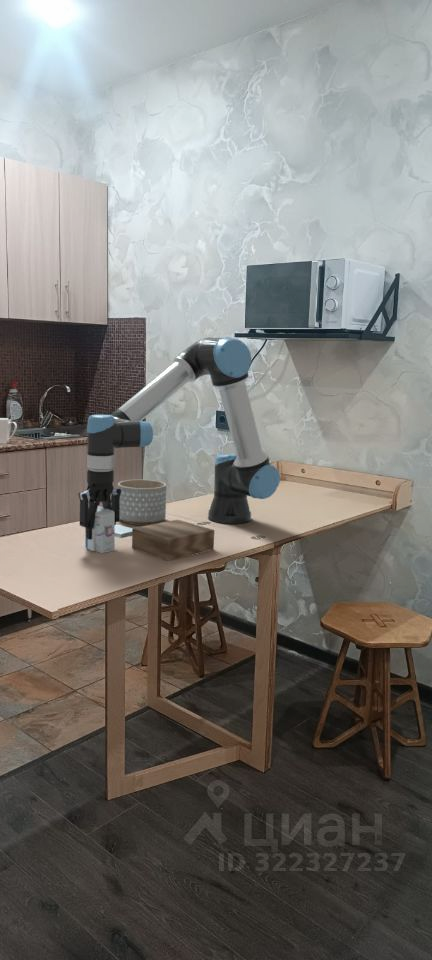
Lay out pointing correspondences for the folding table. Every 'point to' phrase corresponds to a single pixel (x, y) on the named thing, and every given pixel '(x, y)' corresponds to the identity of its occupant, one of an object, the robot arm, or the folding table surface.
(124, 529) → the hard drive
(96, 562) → the folding table surface
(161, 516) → the planter
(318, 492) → the folding table surface
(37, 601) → the folding table surface
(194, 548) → the walnut stand
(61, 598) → the folding table surface
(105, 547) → the ink box
